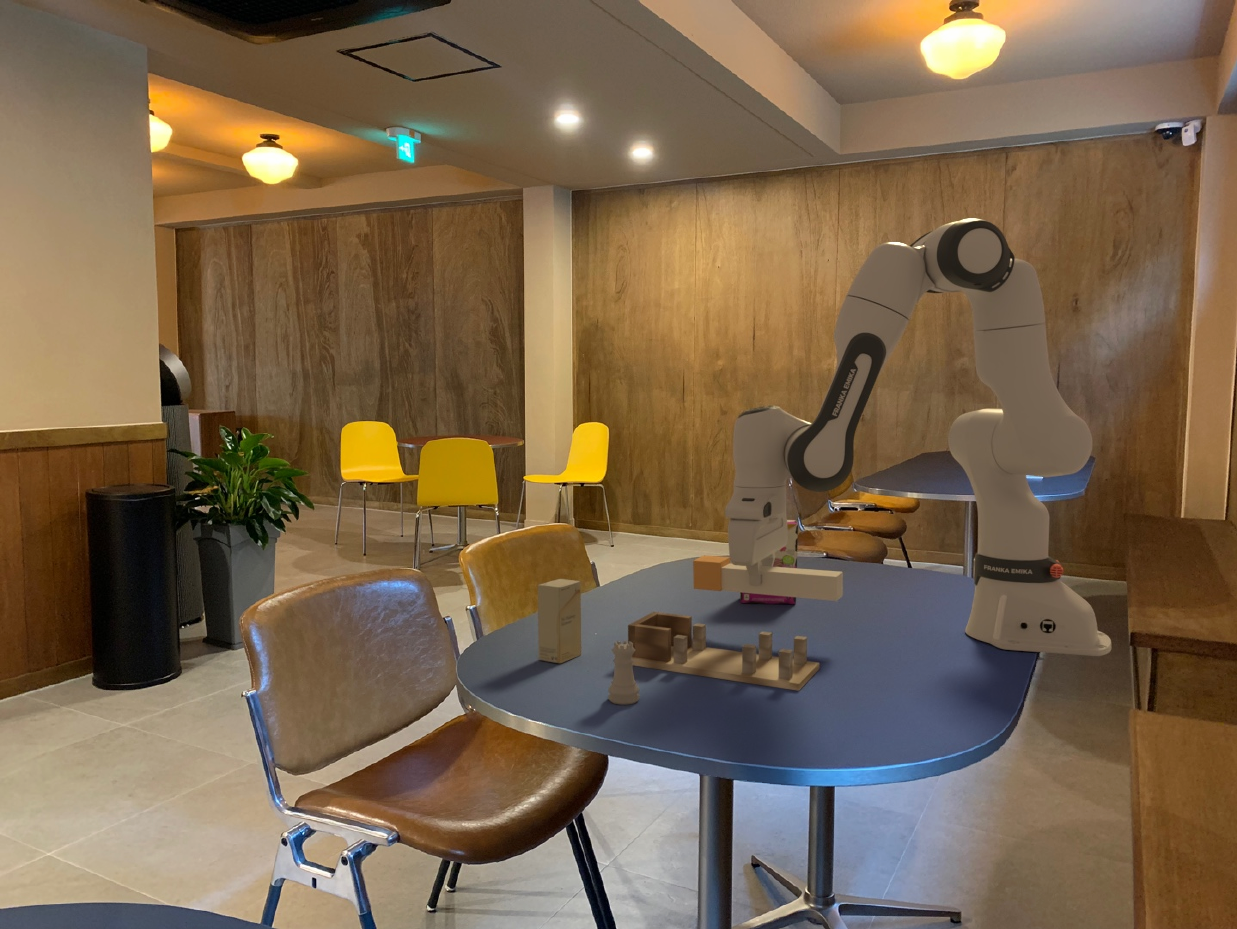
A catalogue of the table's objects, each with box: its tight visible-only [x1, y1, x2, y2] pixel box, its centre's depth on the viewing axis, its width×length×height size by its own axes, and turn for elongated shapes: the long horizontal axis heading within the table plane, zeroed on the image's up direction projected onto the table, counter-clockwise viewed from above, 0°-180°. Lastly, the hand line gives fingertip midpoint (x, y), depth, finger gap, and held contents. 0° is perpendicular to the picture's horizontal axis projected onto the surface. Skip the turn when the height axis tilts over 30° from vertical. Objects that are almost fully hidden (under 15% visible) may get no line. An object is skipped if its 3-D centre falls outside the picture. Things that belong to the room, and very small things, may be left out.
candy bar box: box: [739, 519, 799, 605], centre depth 181 cm, size 11×5×16 cm, turn 84°
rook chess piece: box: [607, 640, 641, 706], centre depth 124 cm, size 4×4×8 cm
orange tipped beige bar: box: [692, 554, 844, 602], centre depth 154 cm, size 25×5×5 cm, turn 62°
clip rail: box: [627, 611, 820, 692], centre depth 139 cm, size 28×11×6 cm, turn 63°
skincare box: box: [537, 578, 582, 664], centre depth 144 cm, size 6×4×12 cm
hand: (761, 581), depth 155 cm, fingers closed on orange tipped beige bar, 4 cm apart
